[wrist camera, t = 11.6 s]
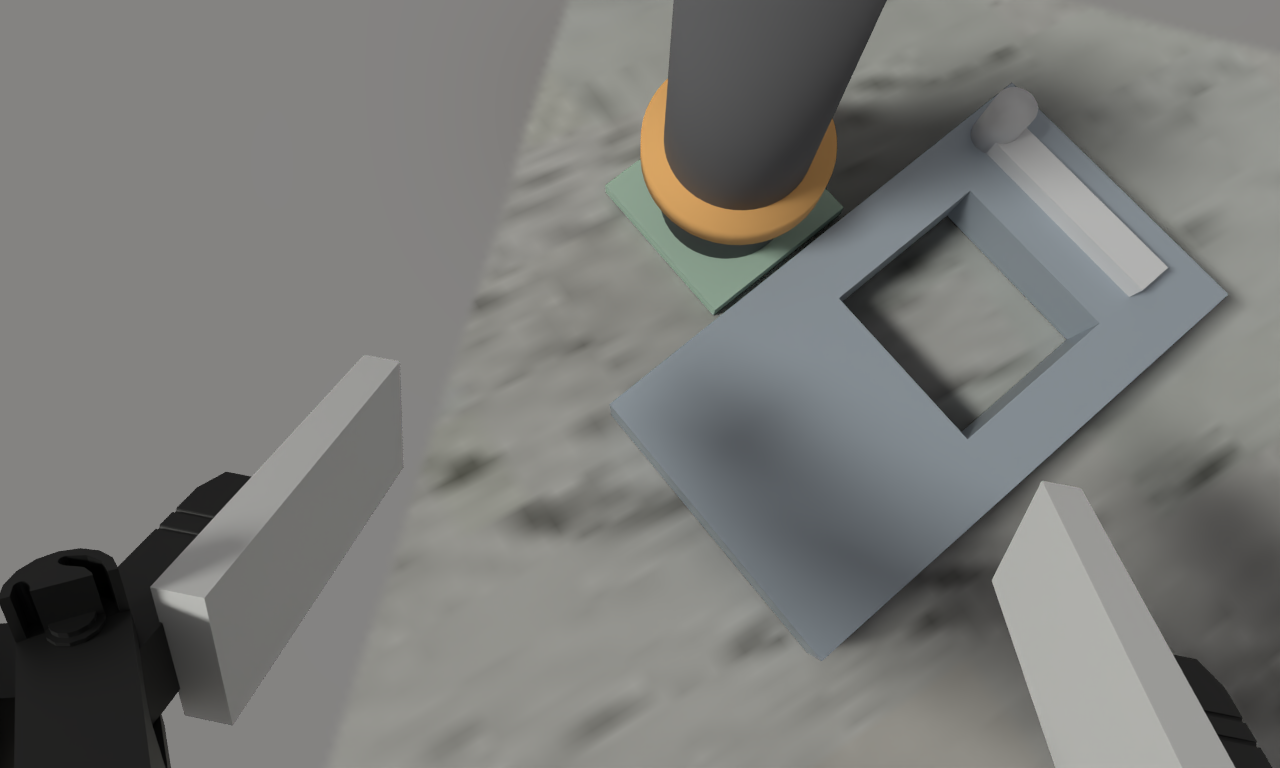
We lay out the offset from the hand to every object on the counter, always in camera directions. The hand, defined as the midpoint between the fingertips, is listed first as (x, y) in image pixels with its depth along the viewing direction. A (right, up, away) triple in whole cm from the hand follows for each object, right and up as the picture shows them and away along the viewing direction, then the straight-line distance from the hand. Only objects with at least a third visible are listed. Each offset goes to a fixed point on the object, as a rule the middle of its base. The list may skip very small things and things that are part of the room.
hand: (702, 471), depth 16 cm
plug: (+2, +8, +12) cm, 14 cm away
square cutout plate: (+8, +3, +11) cm, 14 cm away
